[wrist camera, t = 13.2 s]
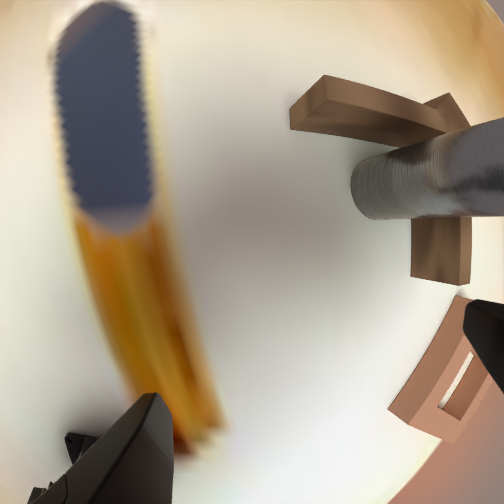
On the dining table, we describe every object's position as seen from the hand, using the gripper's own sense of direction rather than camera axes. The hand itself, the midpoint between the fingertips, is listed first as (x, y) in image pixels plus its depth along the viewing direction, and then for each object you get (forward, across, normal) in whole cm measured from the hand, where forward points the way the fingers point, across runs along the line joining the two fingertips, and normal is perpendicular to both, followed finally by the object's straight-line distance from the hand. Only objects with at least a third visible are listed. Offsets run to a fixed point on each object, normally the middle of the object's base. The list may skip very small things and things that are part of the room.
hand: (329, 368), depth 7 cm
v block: (+14, -11, -3) cm, 18 cm away
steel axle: (+14, -8, -2) cm, 16 cm away
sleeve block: (+12, -15, +18) cm, 26 cm away
